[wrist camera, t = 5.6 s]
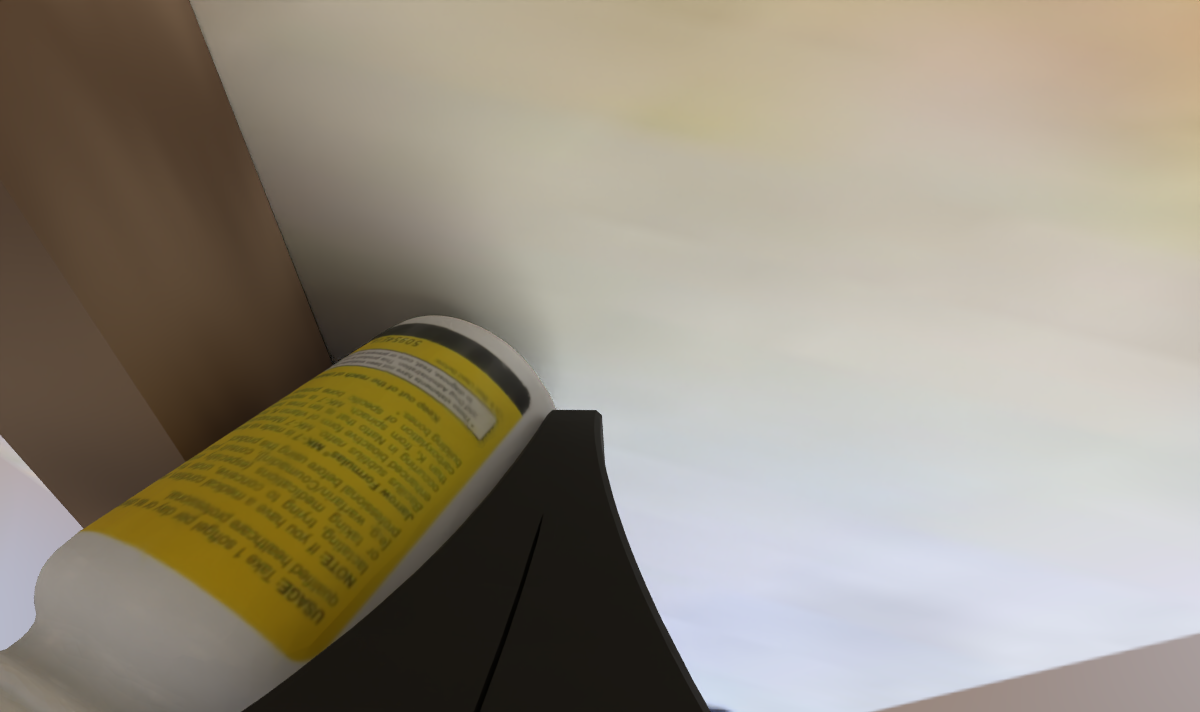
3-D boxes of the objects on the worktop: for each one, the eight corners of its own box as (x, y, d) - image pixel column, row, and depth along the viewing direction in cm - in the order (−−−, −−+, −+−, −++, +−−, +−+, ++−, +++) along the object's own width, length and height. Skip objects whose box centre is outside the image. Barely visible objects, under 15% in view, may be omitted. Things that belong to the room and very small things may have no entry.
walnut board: (441, 639, 18) (393, 777, 15) (362, 635, 18) (297, 769, 15) (73, -293, 6) (-562, -673, 3) (-124, -265, 7) (-904, -584, 3)
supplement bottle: (351, 326, 11) (-317, 716, 5) (513, 289, 9) (-309, 926, 3) (444, 484, 13) (59, 924, 7) (597, 486, 11) (250, 1152, 4)
